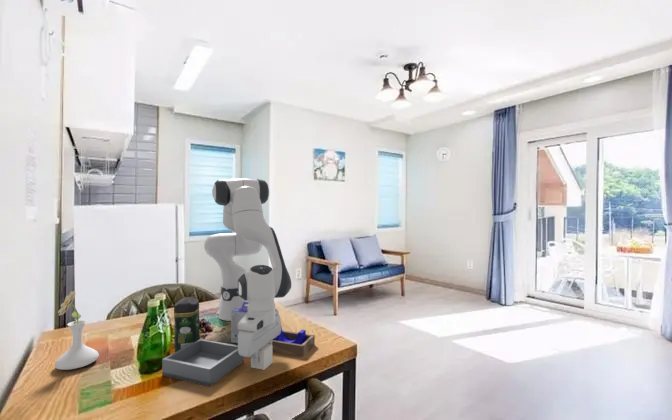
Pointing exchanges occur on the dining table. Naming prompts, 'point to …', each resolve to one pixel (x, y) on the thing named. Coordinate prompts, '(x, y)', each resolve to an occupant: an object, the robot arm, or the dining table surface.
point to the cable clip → (300, 339)
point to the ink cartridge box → (237, 321)
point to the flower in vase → (75, 341)
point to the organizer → (291, 347)
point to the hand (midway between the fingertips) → (261, 358)
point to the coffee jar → (186, 322)
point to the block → (264, 357)
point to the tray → (202, 362)
